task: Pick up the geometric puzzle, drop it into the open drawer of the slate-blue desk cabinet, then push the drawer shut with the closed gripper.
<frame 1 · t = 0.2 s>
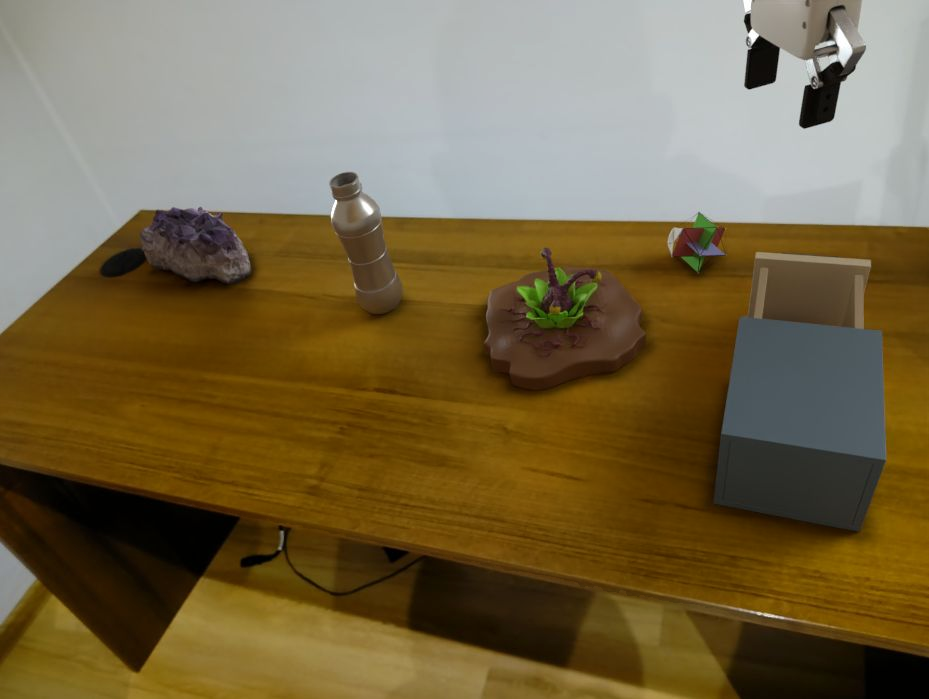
hand: (786, 103, 70), 26 cm above the table, tool pointing down, fingers open, 9 cm apart
drawer: (803, 316, 78), point 5 cm above the table, slide at 11.0 cm
plastic bottle: (384, 305, 101), on the table
plant: (560, 329, 91), on the table
geode: (209, 263, 117), on the table
geometric puzzle: (697, 263, 96), on the table
cabinet: (789, 452, 72), on the table
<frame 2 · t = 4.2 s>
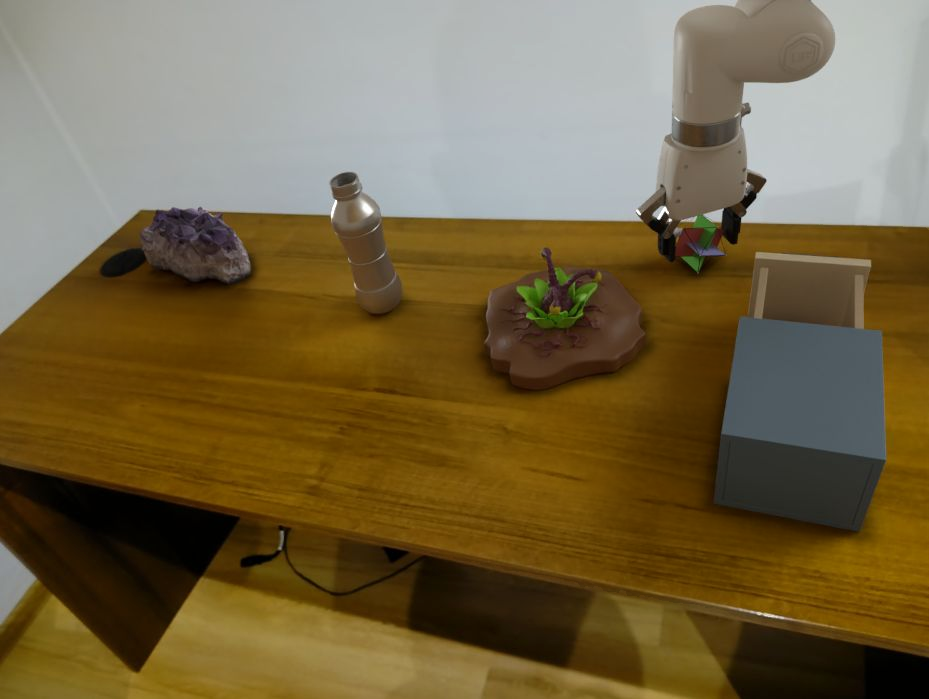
hand: (698, 247, 94), 2 cm above the table, tool pointing down, fingers closed on geometric puzzle, 8 cm apart
geometric puzzle: (697, 263, 96), on the table, touching gripper
everything else where it was.
when the fingers open (10 cm above the table, at t = 11.8 s): geometric puzzle drops 5 cm, resting on drawer.
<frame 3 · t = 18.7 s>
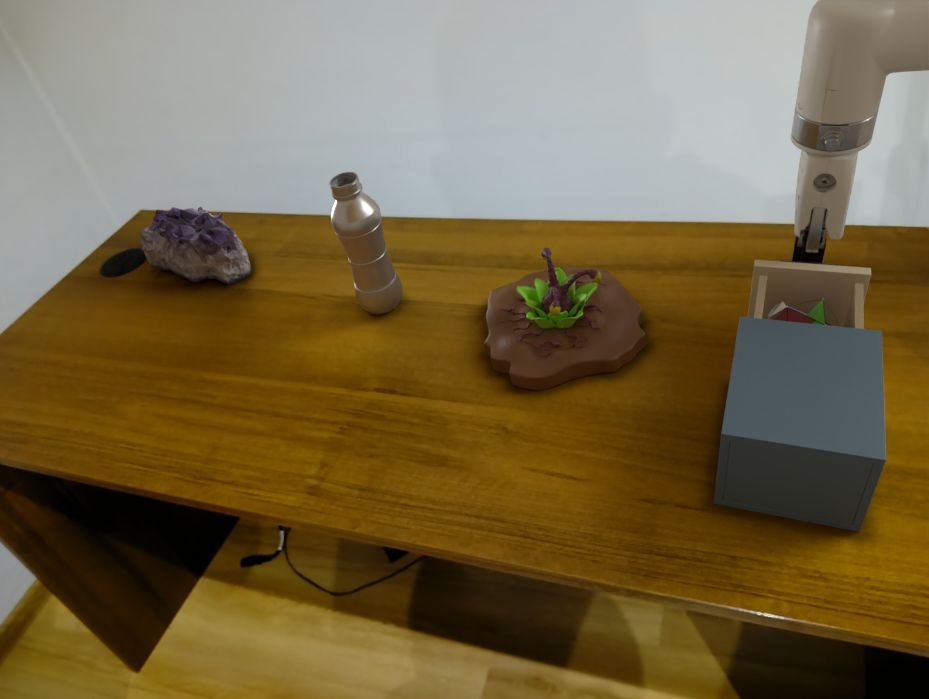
hand: (805, 268, 85), 4 cm above the table, tool pointing down, fingers closed
drawer: (803, 325, 77), point 5 cm above the table, slide at 9.6 cm, touching geometric puzzle, gripper
geometric puzzle: (794, 354, 78), point 2 cm above the table, touching drawer
everything else where it was.
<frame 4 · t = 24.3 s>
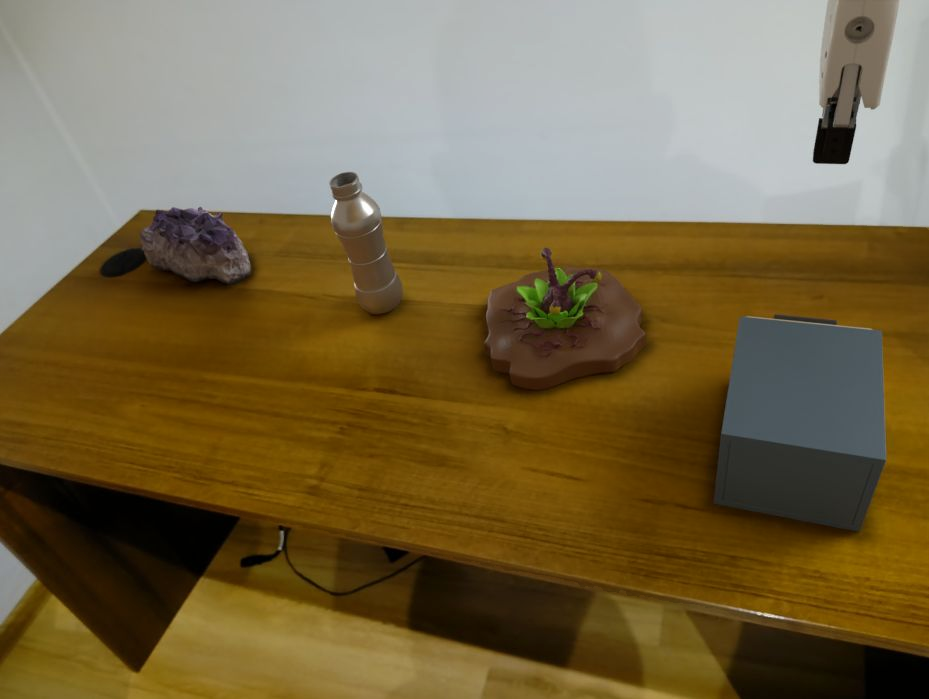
hand: (830, 159, 71), 21 cm above the table, tool pointing down, fingers closed
drawer: (798, 389, 71), point 5 cm above the table, slide at 0.0 cm, touching geometric puzzle
geometric puzzle: (789, 420, 72), point 2 cm above the table, touching drawer
everything else where it was.
at the end: geometric puzzle inside the target area in the cabinet (2.5 cm from its centre), point 2.1 cm above the cabinet's base; drawer slide at 0.0 cm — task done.
